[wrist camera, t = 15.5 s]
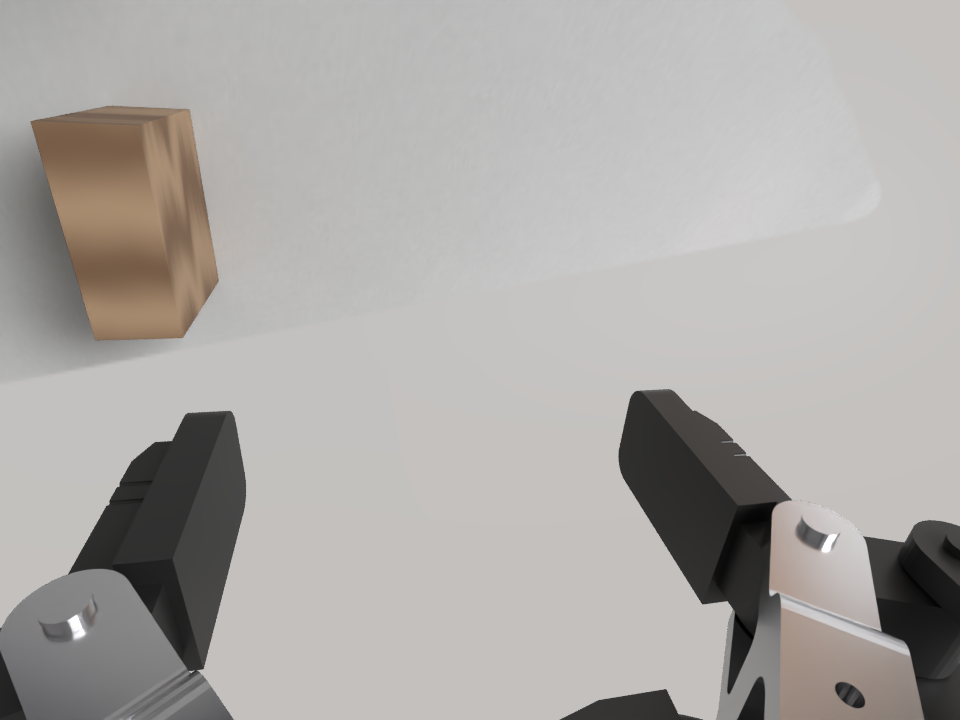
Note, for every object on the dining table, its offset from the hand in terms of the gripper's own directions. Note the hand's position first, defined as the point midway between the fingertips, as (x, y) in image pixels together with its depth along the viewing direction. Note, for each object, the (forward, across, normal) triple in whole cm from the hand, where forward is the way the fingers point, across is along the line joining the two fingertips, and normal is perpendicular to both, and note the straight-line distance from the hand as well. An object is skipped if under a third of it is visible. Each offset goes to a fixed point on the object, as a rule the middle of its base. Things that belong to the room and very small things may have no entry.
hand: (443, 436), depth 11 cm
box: (+34, +15, +3) cm, 37 cm away
